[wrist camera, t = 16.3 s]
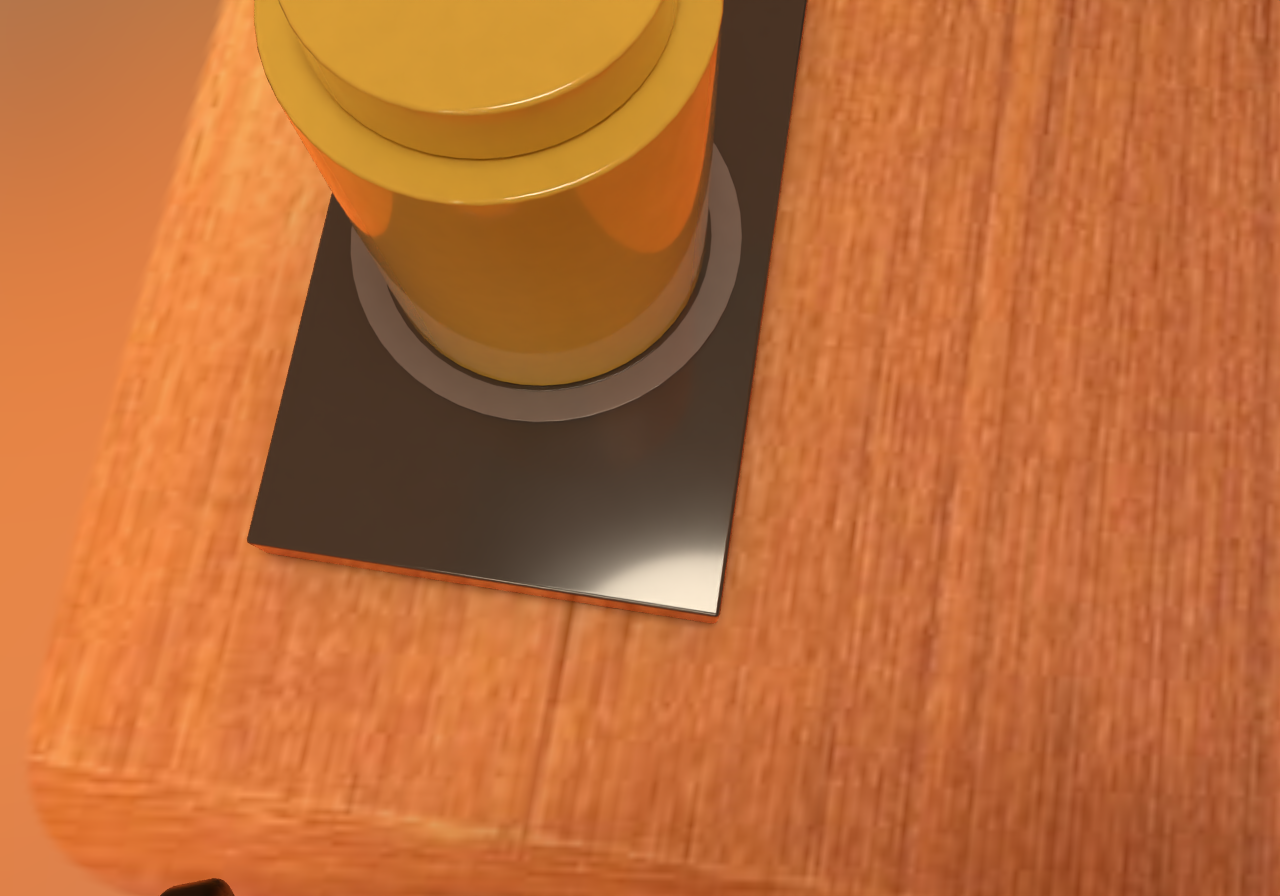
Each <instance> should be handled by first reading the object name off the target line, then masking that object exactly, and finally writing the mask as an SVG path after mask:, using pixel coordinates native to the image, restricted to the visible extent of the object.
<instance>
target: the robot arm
mask: <svg viewBox="0 0 1280 896" xmlns="http://www.w3.org/2000/svg"><path fill="white" fill-rule="evenodd" d="M160 896H234V894H233V892H232V890H231V888H230V887H229V885H228V884H227V883H226V882H225V881H223V880H221V879H215V878H212V879H207V880H202V881H197V882H192V883H187V884H182V885H177V886H173V887H171V888H169V889H167V890H166V891H165V892H164V893H162V894H161V895H160Z"/></svg>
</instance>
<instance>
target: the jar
mask: <svg viewBox="0 0 1280 896" xmlns="http://www.w3.org/2000/svg"><path fill="white" fill-rule="evenodd" d="M723 1H724V0H254V26H255V33H256V40H257V48H258V52H259V55H260V58H261V62H262V65H263V68H264V72H265V75H266V77H267V79H268V81H269V83H270V85H271V87H272V90H273V92H274V94H275V96H276V98H277V100H278V102H279V103H280V105H281V107H282V108H283V110H284V112H285V113H286V115H287V117H288V119H289V120H290V122H291V124H292V125H293V127H294V129H295V130H296V132H297V134H298V135H299V137H300V139H301V140H302V142H303V144H304V145H305V147H306V149H307V150H308V152H309V154H310V155H311V157H312V159H313V161H314V162H315V164H316V166H317V167H318V169H319V171H320V172H321V174H322V176H323V177H324V179H325V181H326V182H327V184H328V186H329V187H330V189H331V191H332V192H333V194H334V196H335V198H336V199H337V201H338V203H339V204H340V206H341V208H342V209H343V211H344V213H345V214H346V216H347V218H348V219H349V221H350V223H351V224H352V226H353V228H354V229H355V231H356V233H357V234H358V236H359V238H360V240H361V241H362V243H363V245H364V246H365V248H366V250H367V251H368V253H369V255H370V256H371V258H372V260H373V261H374V263H375V265H376V266H377V268H378V270H379V271H380V273H381V275H382V276H383V278H384V280H385V282H386V283H387V285H388V287H389V288H390V290H391V292H392V293H393V295H394V297H395V298H396V300H397V302H398V303H399V305H400V307H401V308H402V310H403V312H404V313H405V315H406V316H407V317H408V319H409V320H410V322H411V323H412V325H413V326H414V327H415V329H416V330H417V331H418V332H419V333H420V334H421V335H422V336H423V337H424V339H425V340H426V341H427V342H428V343H430V344H431V345H432V346H433V347H434V348H435V349H437V350H438V351H439V352H440V353H441V354H443V355H444V356H446V357H447V358H449V359H450V360H452V361H454V362H455V363H457V364H458V365H460V366H462V367H464V368H466V369H469V370H471V371H473V372H475V373H477V374H479V375H483V376H486V377H489V378H492V379H495V380H499V381H503V382H509V383H515V384H520V385H539V386H545V385H558V384H567V383H572V382H577V381H582V380H586V379H589V378H592V377H595V376H598V375H601V374H604V373H607V372H609V371H611V370H613V369H615V368H617V367H619V366H621V365H623V364H626V363H627V362H629V361H630V360H632V359H633V358H635V357H636V356H638V355H639V354H641V353H643V352H644V351H645V350H646V349H648V348H649V347H650V346H651V345H652V344H653V343H655V342H656V341H657V340H658V339H659V338H660V337H661V336H662V335H663V334H664V333H665V332H666V331H667V330H668V329H669V328H670V326H671V325H672V324H673V323H674V322H675V320H676V319H677V318H678V316H679V315H680V313H681V312H682V310H683V309H684V307H685V306H686V304H687V302H688V300H689V298H690V296H691V294H692V292H693V290H694V288H695V286H696V283H697V280H698V277H699V274H700V272H701V269H702V264H703V259H704V253H705V248H706V235H707V221H708V208H709V194H710V181H711V167H712V154H713V140H714V127H715V113H716V100H717V86H718V73H719V60H720V46H721V33H722V19H723Z"/></svg>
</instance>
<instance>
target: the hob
mask: <svg viewBox="0 0 1280 896" xmlns="http://www.w3.org/2000/svg"><path fill="white" fill-rule="evenodd" d="M807 3H808V0H724V1H723V19H722V33H721V46H720V60H719V73H718V86H717V100H716V113H715V127H714V140H713V154H712V167H711V181H710V194H709V208H708V221H707V235H706V248H705V253H704V259H703V264H702V269H701V272H700V274H699V277H698V280H697V283H696V286H695V288H694V290H693V292H692V294H691V296H690V298H689V300H688V302H687V304H686V306H685V307H684V309H683V310H682V312H681V313H680V315H679V316H678V318H677V319H676V320H675V322H674V323H673V324H672V325H671V326H670V328H669V329H668V330H667V331H666V332H665V333H664V334H663V335H662V336H661V337H660V338H659V339H658V340H657V341H656V342H655V343H653V344H652V345H651V346H650V347H649V348H648V349H646V350H645V351H644V352H643V353H641V354H639V355H638V356H636V357H635V358H633V359H632V360H630V361H629V362H627V363H626V364H623V365H621V366H619V367H617V368H615V369H613V370H611V371H609V372H607V373H604V374H601V375H598V376H595V377H592V378H589V379H586V380H582V381H577V382H572V383H567V384H558V385H545V386H539V385H520V384H515V383H509V382H503V381H499V380H495V379H492V378H489V377H486V376H483V375H479V374H477V373H475V372H473V371H471V370H469V369H466V368H464V367H462V366H460V365H458V364H457V363H455V362H454V361H452V360H450V359H449V358H447V357H446V356H444V355H443V354H441V353H440V352H439V351H438V350H437V349H435V348H434V347H433V346H432V345H431V344H430V343H428V342H427V341H426V340H425V339H424V337H423V336H422V335H421V334H420V333H419V332H418V331H417V330H416V329H415V327H414V326H413V325H412V323H411V322H410V320H409V319H408V317H407V316H406V315H405V313H404V312H403V310H402V308H401V307H400V305H399V303H398V302H397V300H396V298H395V297H394V295H393V293H392V292H391V290H390V288H389V287H388V285H387V283H386V282H385V280H384V278H383V276H382V275H381V273H380V271H379V270H378V268H377V266H376V265H375V263H374V261H373V260H372V258H371V256H370V255H369V253H368V251H367V250H366V248H365V246H364V245H363V243H362V241H361V240H360V238H359V236H358V234H357V233H356V231H355V229H354V228H353V226H352V224H351V223H350V221H349V219H348V218H347V216H346V214H345V213H344V211H343V209H342V208H341V206H340V204H339V203H338V201H337V199H336V198H335V196H334V194H333V192H332V194H331V199H330V203H329V207H328V211H327V215H326V219H325V223H324V227H323V231H322V235H321V239H320V243H319V248H318V252H317V256H316V260H315V264H314V268H313V272H312V276H311V280H310V284H309V288H308V292H307V296H306V301H305V305H304V309H303V313H302V317H301V321H300V325H299V329H298V333H297V337H296V341H295V345H294V350H293V354H292V358H291V362H290V366H289V370H288V374H287V378H286V382H285V386H284V390H283V394H282V398H281V403H280V407H279V411H278V415H277V419H276V423H275V427H274V431H273V435H272V439H271V443H270V447H269V452H268V456H267V460H266V464H265V468H264V472H263V476H262V480H261V484H260V488H259V492H258V496H257V500H256V505H255V509H254V513H253V517H252V521H251V525H250V529H249V533H248V537H247V542H248V543H249V544H251V545H253V546H255V547H257V548H259V549H261V550H263V551H265V552H267V553H269V554H276V555H282V556H288V557H295V558H301V559H307V560H314V561H320V562H326V563H333V564H339V565H345V566H352V567H358V568H364V569H371V570H377V571H383V572H390V573H396V574H402V575H409V576H415V577H421V578H428V579H434V580H440V581H447V582H453V583H459V584H465V585H472V586H478V587H484V588H491V589H497V590H503V591H510V592H516V593H522V594H529V595H535V596H541V597H548V598H554V599H560V600H567V601H573V602H579V603H586V604H592V605H598V606H605V607H611V608H617V609H624V610H630V611H636V612H643V613H649V614H655V615H661V616H668V617H674V618H680V619H687V620H693V621H699V622H706V623H712V624H713V623H716V622H717V620H718V618H719V615H720V611H721V604H722V597H723V590H724V583H725V576H726V569H727V562H728V555H729V548H730V541H731V534H732V527H733V520H734V513H735V506H736V499H737V492H738V485H739V478H740V471H741V464H742V457H743V450H744V444H745V437H746V430H747V423H748V416H749V409H750V402H751V395H752V388H753V381H754V374H755V367H756V360H757V353H758V346H759V339H760V332H761V325H762V318H763V311H764V304H765V297H766V290H767V283H768V276H769V269H770V262H771V255H772V248H773V241H774V234H775V227H776V220H777V213H778V206H779V199H780V192H781V185H782V178H783V171H784V164H785V157H786V150H787V143H788V136H789V129H790V122H791V115H792V108H793V101H794V94H795V87H796V80H797V73H798V66H799V59H800V52H801V45H802V38H803V31H804V24H805V17H806V10H807Z"/></svg>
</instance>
